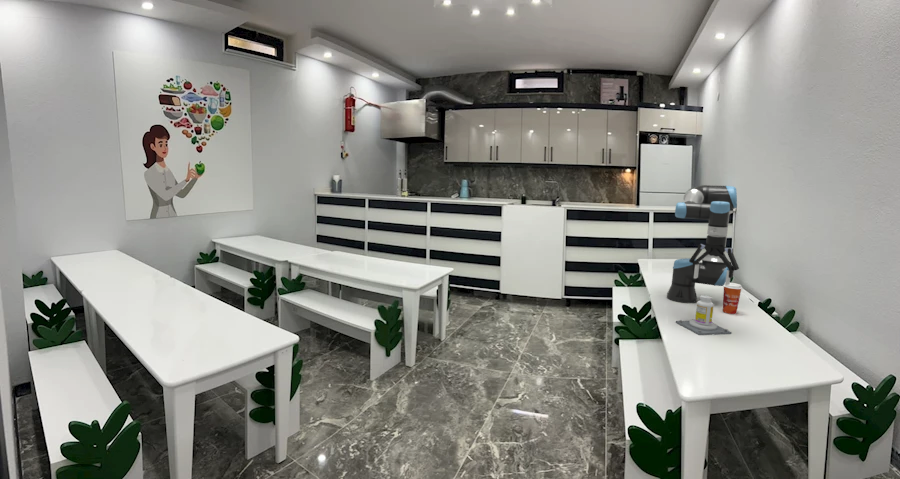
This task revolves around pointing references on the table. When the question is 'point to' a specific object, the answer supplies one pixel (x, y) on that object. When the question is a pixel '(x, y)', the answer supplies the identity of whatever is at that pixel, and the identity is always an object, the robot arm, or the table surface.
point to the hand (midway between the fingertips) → (711, 281)
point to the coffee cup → (731, 298)
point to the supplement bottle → (704, 310)
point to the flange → (703, 328)
